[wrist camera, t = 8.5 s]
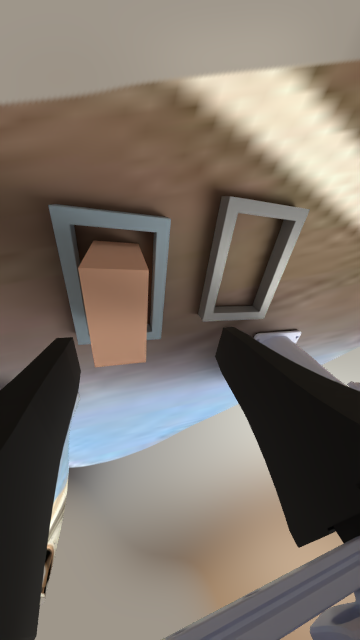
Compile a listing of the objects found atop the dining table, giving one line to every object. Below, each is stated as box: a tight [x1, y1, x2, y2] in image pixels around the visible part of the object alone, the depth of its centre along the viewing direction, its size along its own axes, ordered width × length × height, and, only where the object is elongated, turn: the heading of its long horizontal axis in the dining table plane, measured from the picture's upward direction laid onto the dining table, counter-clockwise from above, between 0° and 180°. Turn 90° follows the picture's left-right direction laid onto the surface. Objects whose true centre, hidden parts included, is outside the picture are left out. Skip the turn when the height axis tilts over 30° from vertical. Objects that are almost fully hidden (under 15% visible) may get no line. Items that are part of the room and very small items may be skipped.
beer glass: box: [40, 392, 80, 605], centre depth 17 cm, size 7×7×15 cm
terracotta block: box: [78, 240, 149, 367], centre depth 14 cm, size 7×4×7 cm, turn 173°
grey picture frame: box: [48, 204, 171, 345], centre depth 17 cm, size 12×8×2 cm
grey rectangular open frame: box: [198, 196, 310, 322], centre depth 19 cm, size 12×8×2 cm
